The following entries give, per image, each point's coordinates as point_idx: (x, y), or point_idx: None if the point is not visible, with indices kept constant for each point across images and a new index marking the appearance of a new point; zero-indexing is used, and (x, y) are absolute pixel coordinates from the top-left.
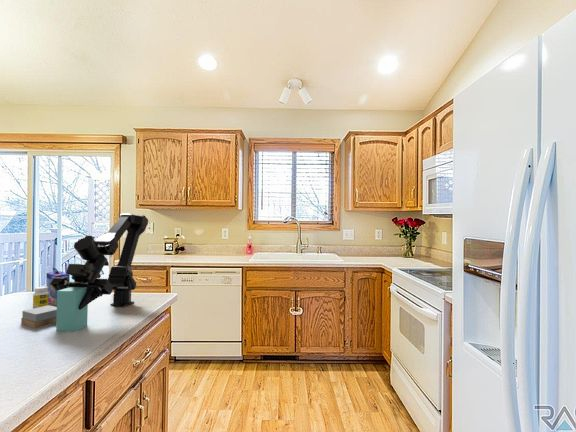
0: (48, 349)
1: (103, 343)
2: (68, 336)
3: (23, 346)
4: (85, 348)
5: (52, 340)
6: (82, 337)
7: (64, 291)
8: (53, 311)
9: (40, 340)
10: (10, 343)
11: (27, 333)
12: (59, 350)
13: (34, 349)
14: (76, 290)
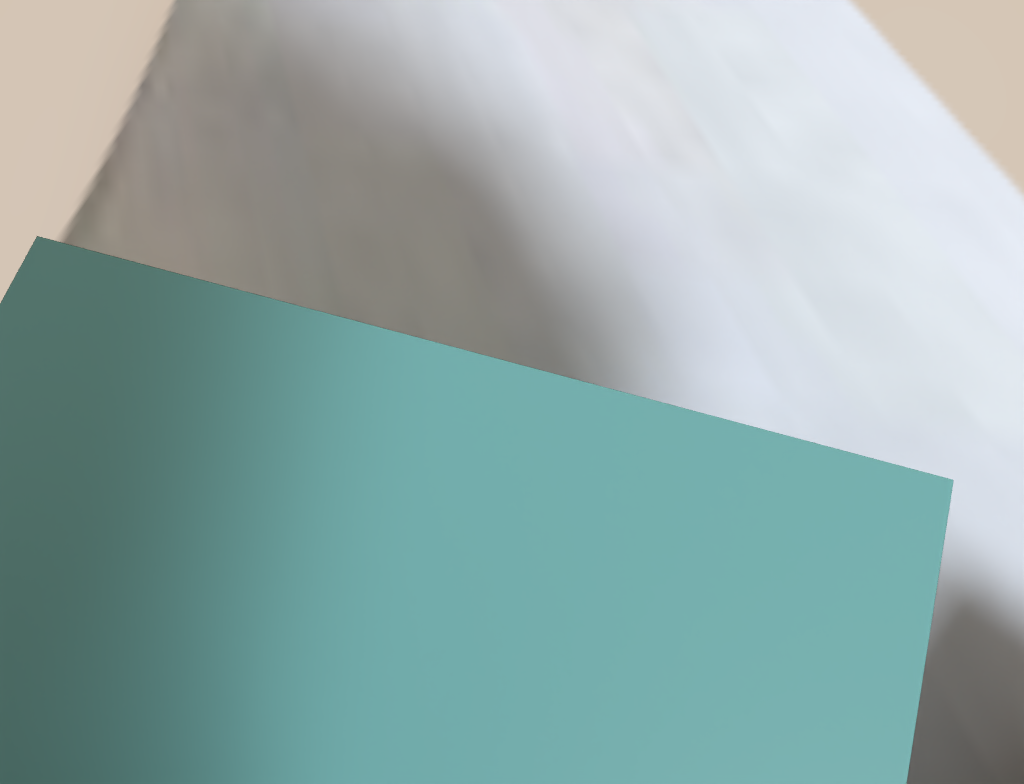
0: (512, 36)
1: (126, 116)
2: (459, 327)
3: (771, 114)
4: (240, 34)
5: (573, 234)
6: (317, 278)
7: (521, 375)
8: None
9: (695, 249)
10: (965, 202)
11: (1007, 519)
12: (419, 12)
13: (629, 44)
14: (20, 449)
